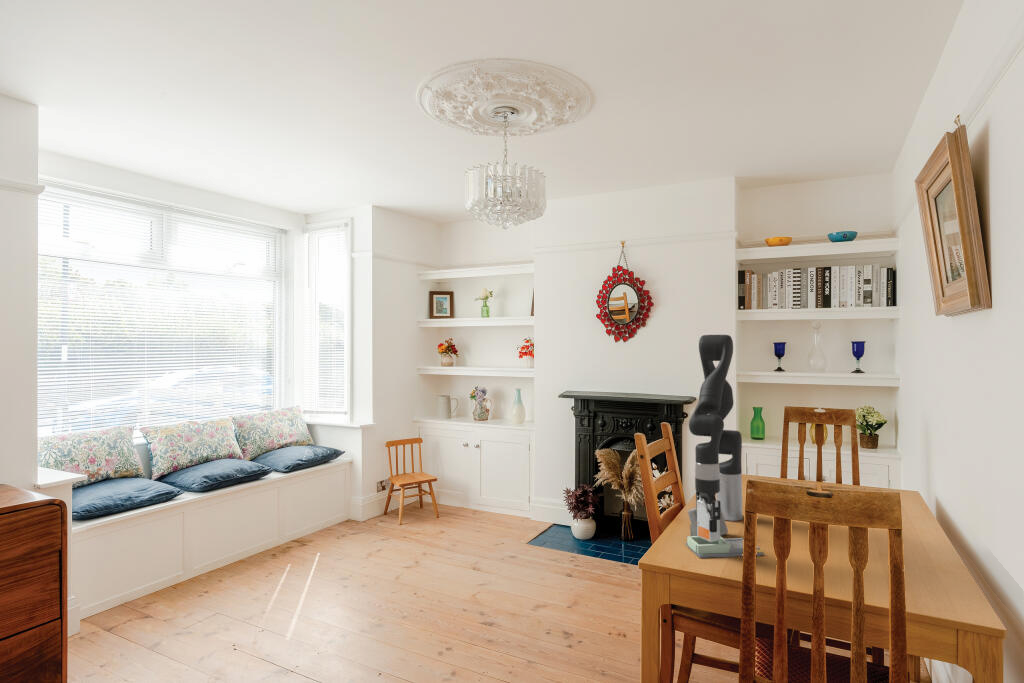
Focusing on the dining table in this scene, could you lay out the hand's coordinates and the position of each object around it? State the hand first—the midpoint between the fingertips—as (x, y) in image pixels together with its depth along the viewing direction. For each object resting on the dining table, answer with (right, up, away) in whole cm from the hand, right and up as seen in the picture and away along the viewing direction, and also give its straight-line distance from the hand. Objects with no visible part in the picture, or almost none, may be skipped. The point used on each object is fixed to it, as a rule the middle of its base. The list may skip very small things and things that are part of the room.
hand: (708, 528), depth 185 cm
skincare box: (0, -4, 0) cm, 4 cm away
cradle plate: (+10, -6, +1) cm, 12 cm away
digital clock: (+4, -8, +13) cm, 16 cm away
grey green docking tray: (+5, -7, 0) cm, 9 cm away
